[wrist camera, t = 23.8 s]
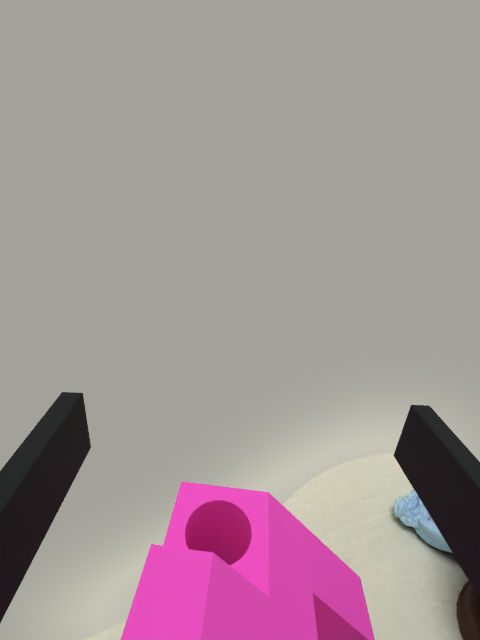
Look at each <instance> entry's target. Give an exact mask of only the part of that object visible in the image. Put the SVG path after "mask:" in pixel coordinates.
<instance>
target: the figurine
mask: <svg viewBox="0 0 480 640" xmlns="http://www.w3.org/2000/svg"><path fill="white" fill-rule="evenodd" d="M394 513H395V517H396V518H400V520H401V521H402V523H403V524H404V525H406V526H410V527H414V528H415V530H416V533H417V534H419V536H420V537H421V538H422V539H423V540H424V541H426V542H427V543H428V544H430V545H431V546H433V547H435V548H437V549H440V550H443V551H447V552H451V553H452V551H451V549H450V548H449V546H448V544H447V543H446V541H445V540H444V538H443V536H442V535H441V533H440V531H439V530H438V528H437V526H436V525H435V523H434V521H433V520H432V518H431V516H430V515H429V513H428V511H427V510H426V508H425V506H424V505H423V503H422V501H421V500H420V498H419V496H418V495H417V493H416V491H415V490H411V492H410V494H409V495H408V496H405V497H399V498H398V499H397V500H396V501H395V505H394Z"/></svg>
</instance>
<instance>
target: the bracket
mask: <svg viewBox="0 0 480 640" xmlns="http://www.w3.org/2000/svg"><path fill="white" fill-rule="evenodd" d="M121 640H375V639H374V635H373V631H372V626H371V622H370V618H369V614H368V610H367V605H366V601H365V597H364V593H363V588H362V584H361V580H360V577H359V576H358V575H357V574H356V573H355V572H353V571H352V570H351V569H350V568H349V567H348V566H347V565H346V564H345V563H344V562H343V561H342V560H341V559H339V558H338V557H337V556H336V555H335V554H334V553H333V552H332V551H331V550H330V549H329V548H328V547H327V546H325V545H324V544H323V543H322V542H321V541H320V540H319V539H318V538H317V537H316V536H315V535H314V534H313V533H311V532H310V531H309V530H308V529H307V528H306V527H305V526H304V525H303V524H302V523H301V522H300V521H299V520H297V519H296V518H295V517H294V516H293V515H292V514H291V513H290V512H289V511H288V510H287V509H286V508H285V507H283V506H282V505H281V504H280V503H279V502H278V501H277V500H276V499H275V498H274V497H273V496H272V495H271V494H269V493H268V492H261V491H253V490H245V489H237V488H229V487H220V486H211V485H204V484H196V483H188V482H181V485H180V489H179V492H178V496H177V499H176V503H175V506H174V510H173V513H172V517H171V520H170V524H169V527H168V531H167V535H166V538H165V541H164V545H163V546H161V545H153V544H151V547H150V550H149V553H148V556H147V559H146V562H145V566H144V569H143V572H142V575H141V578H140V581H139V585H138V588H137V591H136V594H135V597H134V600H133V603H132V606H131V609H130V613H129V616H128V619H127V622H126V625H125V628H124V631H123V635H122V638H121Z"/></svg>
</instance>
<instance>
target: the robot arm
mask: <svg viewBox="0 0 480 640" xmlns="http://www.w3.org/2000/svg"><path fill="white" fill-rule="evenodd" d="M90 448H91V446H90V439H89V432H88V425H87V419H86V412H85V405H84V399H83V393H68V392H62V393H61V394H60V396H59V397H58V398H57V400H56V401H55V402H54V404H53V405H52V406H51V407H50V408H49V410H48V411H47V412H46V414H45V415H44V416H43V417H42V419H41V420H40V421H39V422H38V424H37V425H36V426H35V428H34V429H33V430H32V431H31V433H30V434H29V435H28V437H27V438H26V439H25V440H24V442H23V443H22V444H21V445H20V447H19V448H18V449H17V450H16V452H15V453H14V455H13V456H12V457H11V458H10V459H9V461H8V462H7V463H6V465H5V466H4V467H3V468H2V470H1V471H0V622H1V620H2V618H3V616H4V614H5V612H6V610H7V609H8V607H9V605H10V603H11V601H12V599H13V597H14V595H15V593H16V591H17V589H18V587H19V586H20V584H21V582H22V580H23V578H24V576H25V574H26V572H27V570H28V568H29V566H30V564H31V562H32V560H33V558H34V556H35V554H36V552H37V551H38V549H39V547H40V545H41V543H42V541H43V539H44V537H45V535H46V533H47V531H48V529H49V527H50V525H51V523H52V522H53V520H54V518H55V516H56V514H57V512H58V510H59V508H60V506H61V504H62V502H63V500H64V498H65V496H66V494H67V492H68V490H69V488H70V486H71V484H72V482H73V481H74V479H75V477H76V475H77V473H78V471H79V469H80V467H81V465H82V463H83V461H84V459H85V457H86V456H87V454H88V452H89V450H90ZM394 457H395V458H396V460H397V462H398V463H399V465H400V467H401V468H402V470H403V472H404V473H405V475H406V477H407V478H408V480H409V482H410V483H411V485H412V486H413V488H414V490H415V491H416V493H417V495H418V496H419V498H420V500H421V501H422V503H423V505H424V506H425V508H426V510H427V511H428V513H429V515H430V516H431V518H432V520H433V521H434V523H435V525H436V526H437V528H438V530H439V531H440V533H441V535H442V536H443V538H444V540H445V541H446V543H447V544H448V546H449V548H450V549H451V551H452V553H453V554H454V556H455V558H456V559H457V561H458V563H459V564H460V566H461V568H462V569H463V571H464V573H465V574H466V576H467V578H468V579H469V581H470V583H471V584H472V586H473V588H474V589H475V591H476V593H477V594H478V596H479V597H480V462H479V461H478V460H477V459H476V457H475V456H474V455H473V454H472V453H471V452H470V451H469V450H468V448H466V446H465V445H464V444H463V443H462V442H461V441H460V440H459V439H458V437H457V436H456V435H455V434H454V433H453V432H452V431H451V430H450V429H449V427H448V426H447V425H446V424H445V423H444V422H443V421H442V420H441V418H440V417H439V416H438V415H437V414H436V413H435V412H434V410H433V409H432V408H431V407H430V406H424V405H411V407H410V410H409V413H408V416H407V419H406V422H405V424H404V427H403V430H402V433H401V436H400V439H399V442H398V445H397V447H396V450H395V453H394Z"/></svg>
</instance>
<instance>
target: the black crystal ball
mask: <svg viewBox="0 0 480 640" xmlns="http://www.w3.org/2000/svg"><path fill="white" fill-rule="evenodd" d="M457 617H458V622H459V626H460V630H461V633H462V636H463V638H464V640H480V597H479V596H478V594H477V593H476V591H475V589H474V588H473V586H472V584H471V583H470V581H468V582H467V583H466V584H465V586H464V587H463V589H462V590H461V592H460V594H459V597H458V601H457Z"/></svg>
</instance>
